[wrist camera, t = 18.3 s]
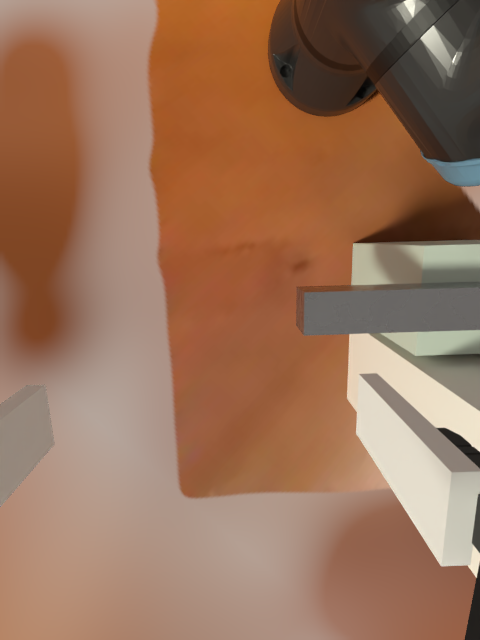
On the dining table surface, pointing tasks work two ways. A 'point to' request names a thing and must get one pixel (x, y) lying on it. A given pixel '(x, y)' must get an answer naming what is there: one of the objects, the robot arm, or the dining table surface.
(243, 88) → the dining table surface
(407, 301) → the steel block
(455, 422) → the two-step stand
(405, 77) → the robot arm
